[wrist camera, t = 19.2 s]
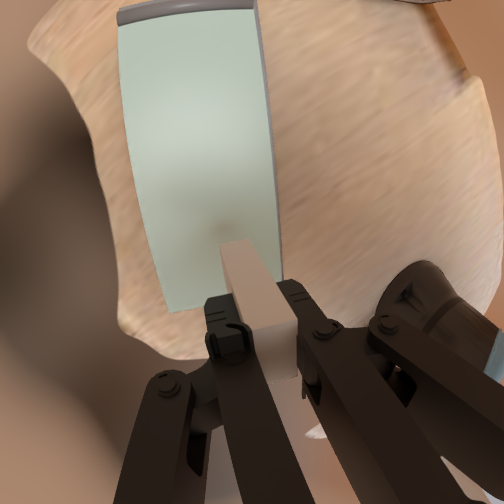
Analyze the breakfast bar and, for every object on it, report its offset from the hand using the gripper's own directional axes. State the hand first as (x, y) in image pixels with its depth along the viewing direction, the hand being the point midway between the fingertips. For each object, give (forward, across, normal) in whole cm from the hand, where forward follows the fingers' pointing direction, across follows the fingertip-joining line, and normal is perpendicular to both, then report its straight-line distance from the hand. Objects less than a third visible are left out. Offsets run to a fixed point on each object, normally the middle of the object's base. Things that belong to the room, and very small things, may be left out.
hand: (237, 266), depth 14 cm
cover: (+7, +1, -6) cm, 9 cm away
